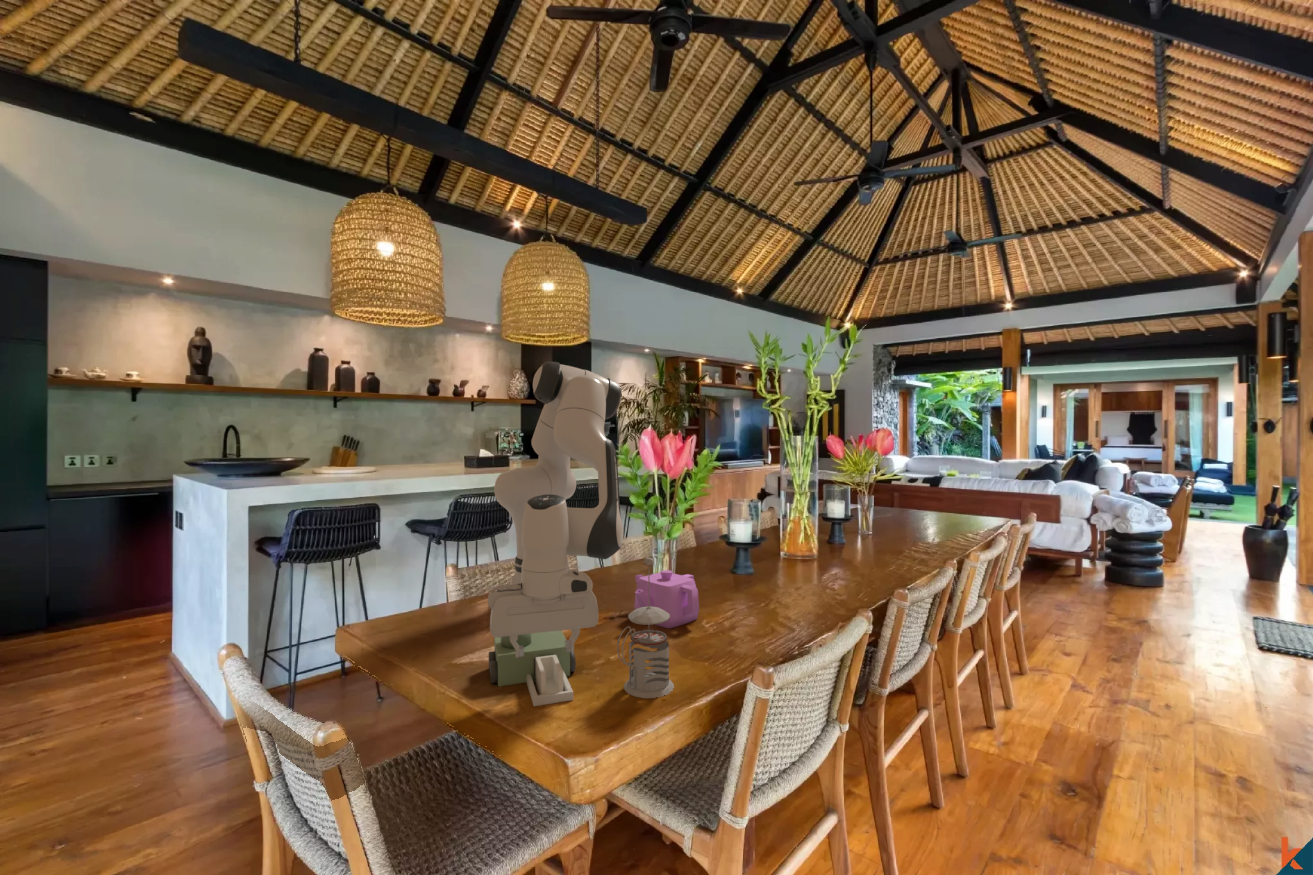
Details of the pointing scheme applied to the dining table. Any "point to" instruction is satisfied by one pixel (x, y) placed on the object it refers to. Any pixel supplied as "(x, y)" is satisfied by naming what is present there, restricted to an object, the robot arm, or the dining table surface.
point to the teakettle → (669, 596)
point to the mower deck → (531, 663)
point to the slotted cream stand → (549, 675)
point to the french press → (648, 653)
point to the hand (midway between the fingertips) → (544, 653)
